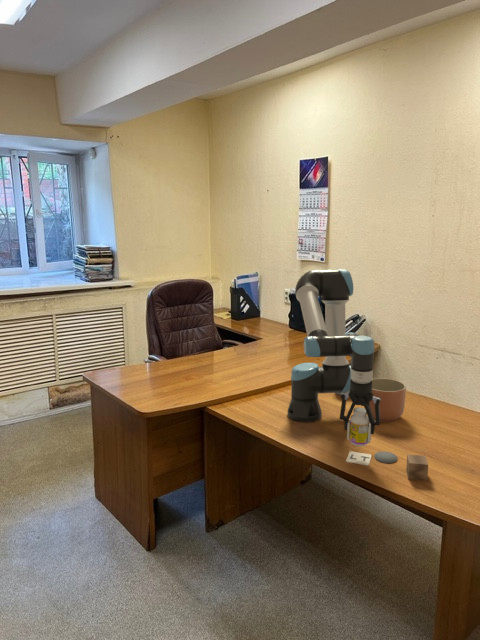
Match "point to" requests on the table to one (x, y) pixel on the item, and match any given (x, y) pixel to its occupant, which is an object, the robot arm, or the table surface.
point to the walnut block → (417, 467)
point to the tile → (359, 458)
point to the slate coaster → (385, 457)
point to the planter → (388, 398)
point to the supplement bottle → (359, 427)
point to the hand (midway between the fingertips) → (358, 439)
